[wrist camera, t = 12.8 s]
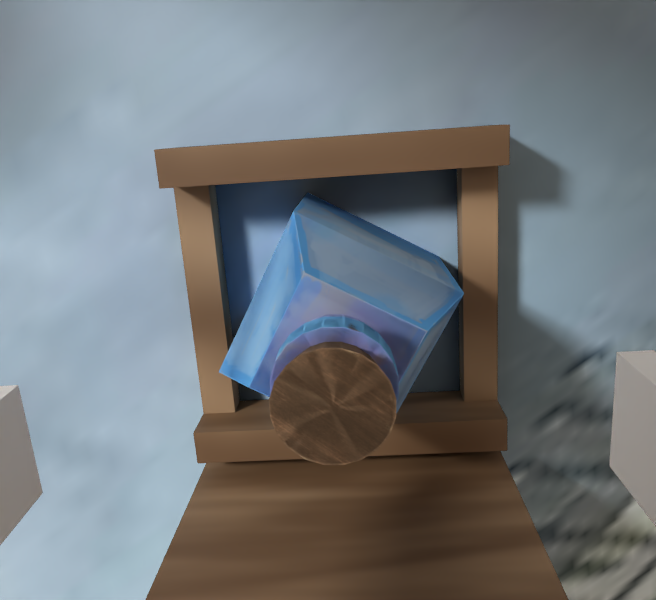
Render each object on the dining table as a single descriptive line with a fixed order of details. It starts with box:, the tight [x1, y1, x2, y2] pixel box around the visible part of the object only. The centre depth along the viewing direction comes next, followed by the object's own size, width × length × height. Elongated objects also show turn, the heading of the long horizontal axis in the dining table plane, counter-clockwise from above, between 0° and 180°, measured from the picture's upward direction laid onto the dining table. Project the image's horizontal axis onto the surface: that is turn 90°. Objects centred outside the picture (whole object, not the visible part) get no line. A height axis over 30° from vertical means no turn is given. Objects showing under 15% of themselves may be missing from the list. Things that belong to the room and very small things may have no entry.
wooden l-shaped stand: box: [146, 125, 568, 600], centre depth 18 cm, size 15×14×19 cm
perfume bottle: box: [219, 192, 464, 465], centre depth 21 cm, size 6×6×12 cm
